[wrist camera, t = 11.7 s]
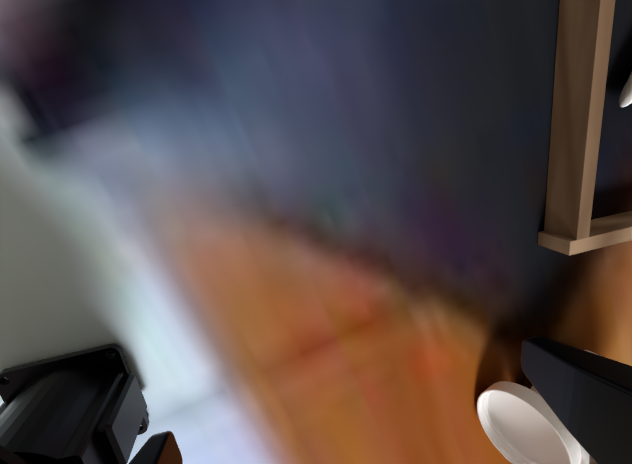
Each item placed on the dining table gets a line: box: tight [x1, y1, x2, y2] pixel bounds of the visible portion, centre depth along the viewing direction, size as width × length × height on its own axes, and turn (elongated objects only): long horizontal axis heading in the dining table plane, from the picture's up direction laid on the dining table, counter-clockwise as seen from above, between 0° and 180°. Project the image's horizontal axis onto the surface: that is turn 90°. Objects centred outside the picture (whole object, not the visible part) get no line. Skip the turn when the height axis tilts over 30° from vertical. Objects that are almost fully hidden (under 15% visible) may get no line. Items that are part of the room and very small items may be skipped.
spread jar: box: [477, 349, 600, 464], centre depth 23 cm, size 12×11×12 cm
